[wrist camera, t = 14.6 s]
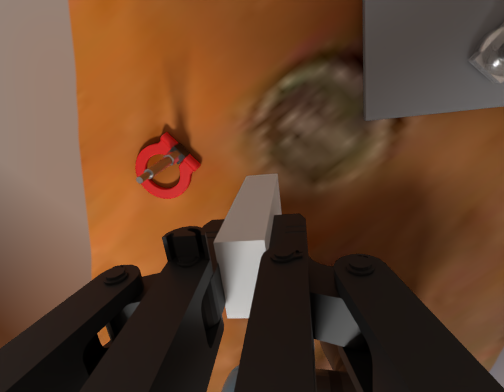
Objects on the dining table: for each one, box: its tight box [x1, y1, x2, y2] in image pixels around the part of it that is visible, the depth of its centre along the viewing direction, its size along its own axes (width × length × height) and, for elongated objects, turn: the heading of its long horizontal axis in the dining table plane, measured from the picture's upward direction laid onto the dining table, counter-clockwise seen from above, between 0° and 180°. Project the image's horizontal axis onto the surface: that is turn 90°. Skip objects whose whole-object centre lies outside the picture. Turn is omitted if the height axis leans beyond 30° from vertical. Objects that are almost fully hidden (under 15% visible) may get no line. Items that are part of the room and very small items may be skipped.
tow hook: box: [135, 132, 201, 199], centre depth 42 cm, size 8×13×9 cm
